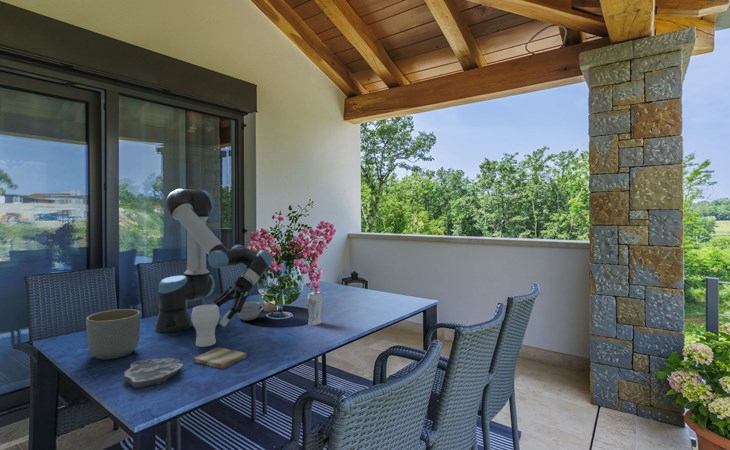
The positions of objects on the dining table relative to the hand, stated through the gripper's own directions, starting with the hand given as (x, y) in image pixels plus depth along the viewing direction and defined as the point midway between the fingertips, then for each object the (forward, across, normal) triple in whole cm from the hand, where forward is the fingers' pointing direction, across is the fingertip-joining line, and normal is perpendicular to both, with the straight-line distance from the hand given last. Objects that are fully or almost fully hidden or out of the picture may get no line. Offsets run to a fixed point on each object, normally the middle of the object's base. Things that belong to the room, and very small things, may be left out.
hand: (214, 321), depth 159 cm
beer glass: (-26, -8, -40) cm, 48 cm away
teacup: (-14, +21, -27) cm, 37 cm away
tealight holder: (-26, +29, -39) cm, 55 cm away
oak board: (+11, -19, -2) cm, 22 cm away
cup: (+8, +1, -4) cm, 9 cm away
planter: (+29, +13, +17) cm, 36 cm away
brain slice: (+26, -17, +14) cm, 34 cm away
